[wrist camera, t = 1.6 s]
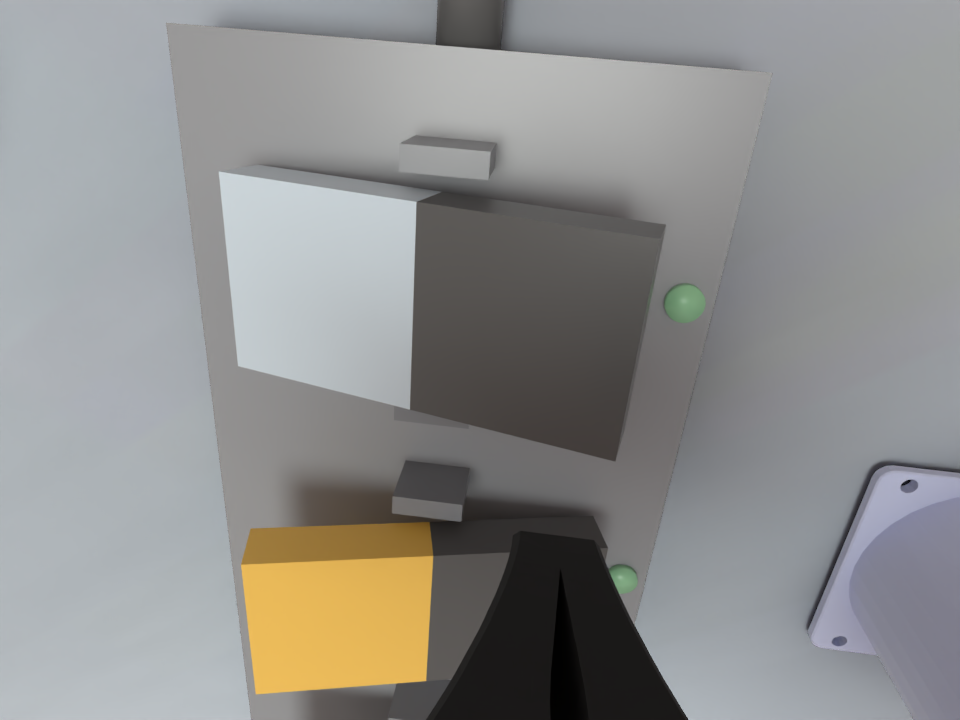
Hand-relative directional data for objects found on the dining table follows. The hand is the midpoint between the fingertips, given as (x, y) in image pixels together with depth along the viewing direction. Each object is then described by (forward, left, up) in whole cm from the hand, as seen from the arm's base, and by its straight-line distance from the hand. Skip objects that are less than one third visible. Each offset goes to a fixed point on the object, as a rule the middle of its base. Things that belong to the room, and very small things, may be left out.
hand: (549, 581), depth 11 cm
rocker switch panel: (+3, +5, -10) cm, 12 cm away
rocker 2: (+3, +7, -7) cm, 10 cm away
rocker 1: (+3, -2, -7) cm, 8 cm away
